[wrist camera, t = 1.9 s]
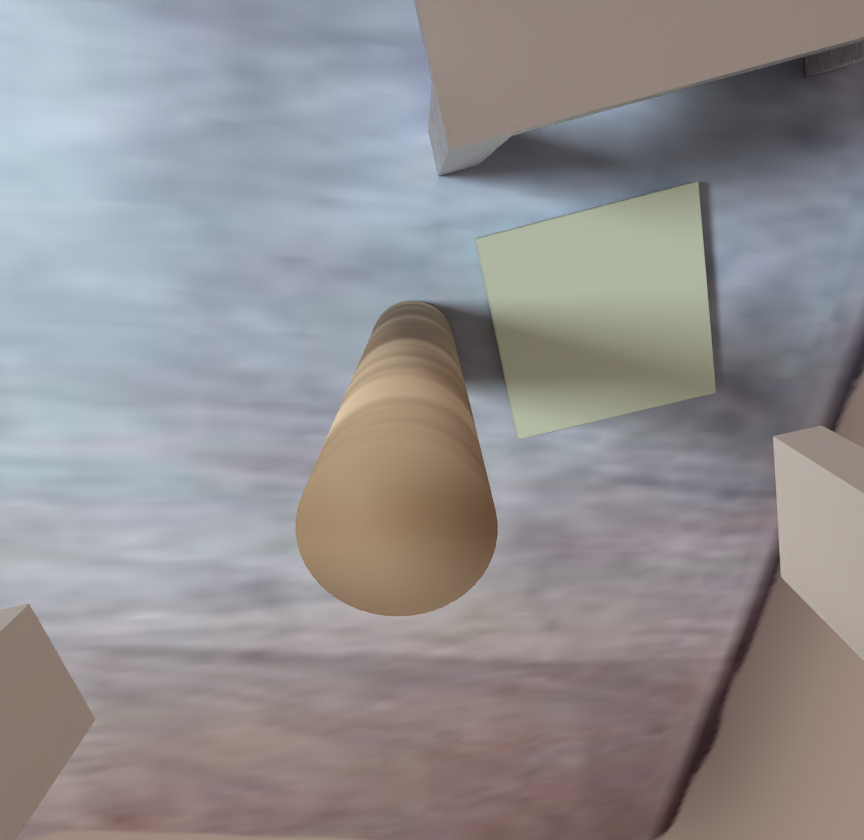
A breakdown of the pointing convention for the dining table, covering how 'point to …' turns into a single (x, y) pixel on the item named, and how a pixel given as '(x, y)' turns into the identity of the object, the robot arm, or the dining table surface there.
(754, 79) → the dining table surface
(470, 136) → the stand
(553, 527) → the dining table surface
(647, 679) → the dining table surface
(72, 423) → the dining table surface
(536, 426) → the pad
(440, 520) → the rod
